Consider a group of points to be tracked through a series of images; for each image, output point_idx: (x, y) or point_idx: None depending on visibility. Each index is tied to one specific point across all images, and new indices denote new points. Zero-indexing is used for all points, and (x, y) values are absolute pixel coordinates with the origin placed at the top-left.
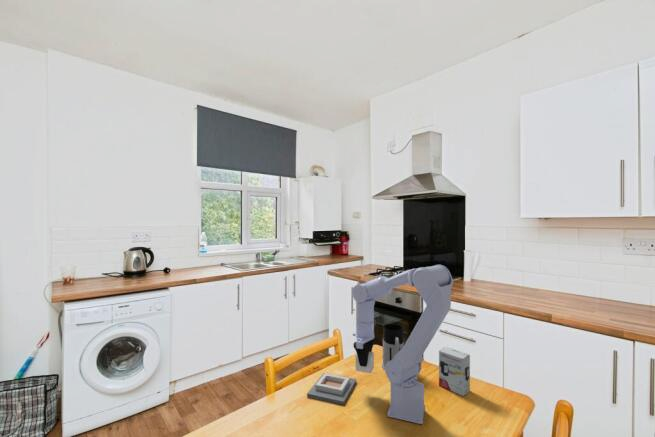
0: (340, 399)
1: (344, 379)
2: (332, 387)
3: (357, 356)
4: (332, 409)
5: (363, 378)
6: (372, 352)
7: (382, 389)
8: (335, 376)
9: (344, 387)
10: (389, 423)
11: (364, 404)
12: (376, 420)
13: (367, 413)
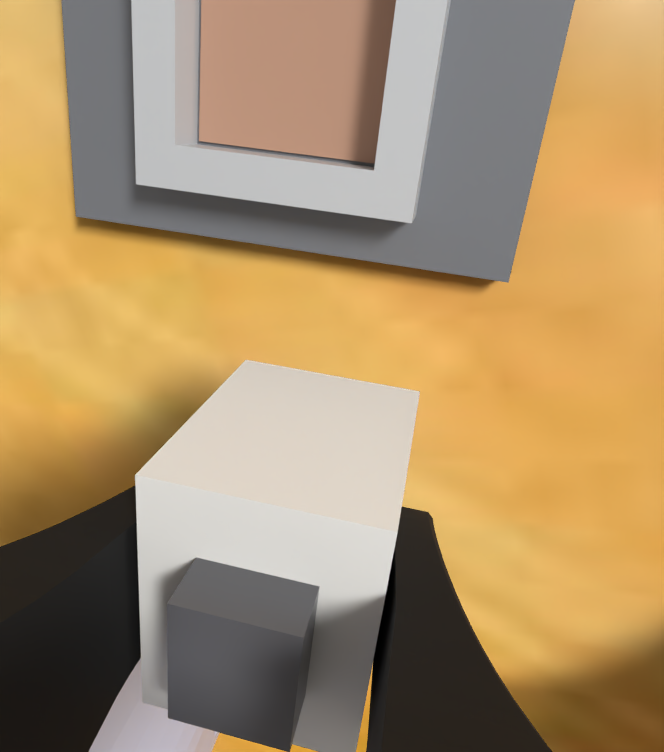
0: (94, 179)
1: (376, 162)
2: (150, 54)
3: (145, 495)
4: (4, 126)
5: (602, 342)
6: (348, 744)
7: (416, 507)
8: (412, 16)
9: (219, 194)
10: (42, 521)
11: (165, 375)
12: (34, 454)
13: (74, 399)
